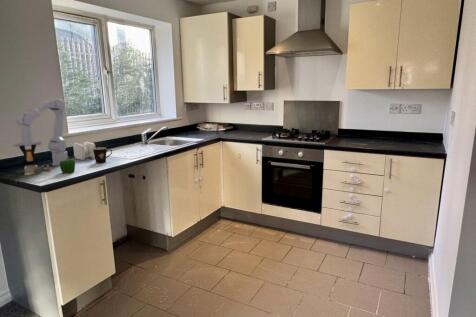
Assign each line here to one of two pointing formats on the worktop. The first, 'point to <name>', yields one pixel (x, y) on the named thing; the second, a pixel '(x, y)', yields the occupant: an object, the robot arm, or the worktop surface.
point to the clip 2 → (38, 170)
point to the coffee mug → (100, 154)
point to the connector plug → (29, 154)
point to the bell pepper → (67, 166)
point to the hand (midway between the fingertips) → (29, 157)
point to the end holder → (30, 168)
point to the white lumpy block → (83, 150)
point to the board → (39, 173)
